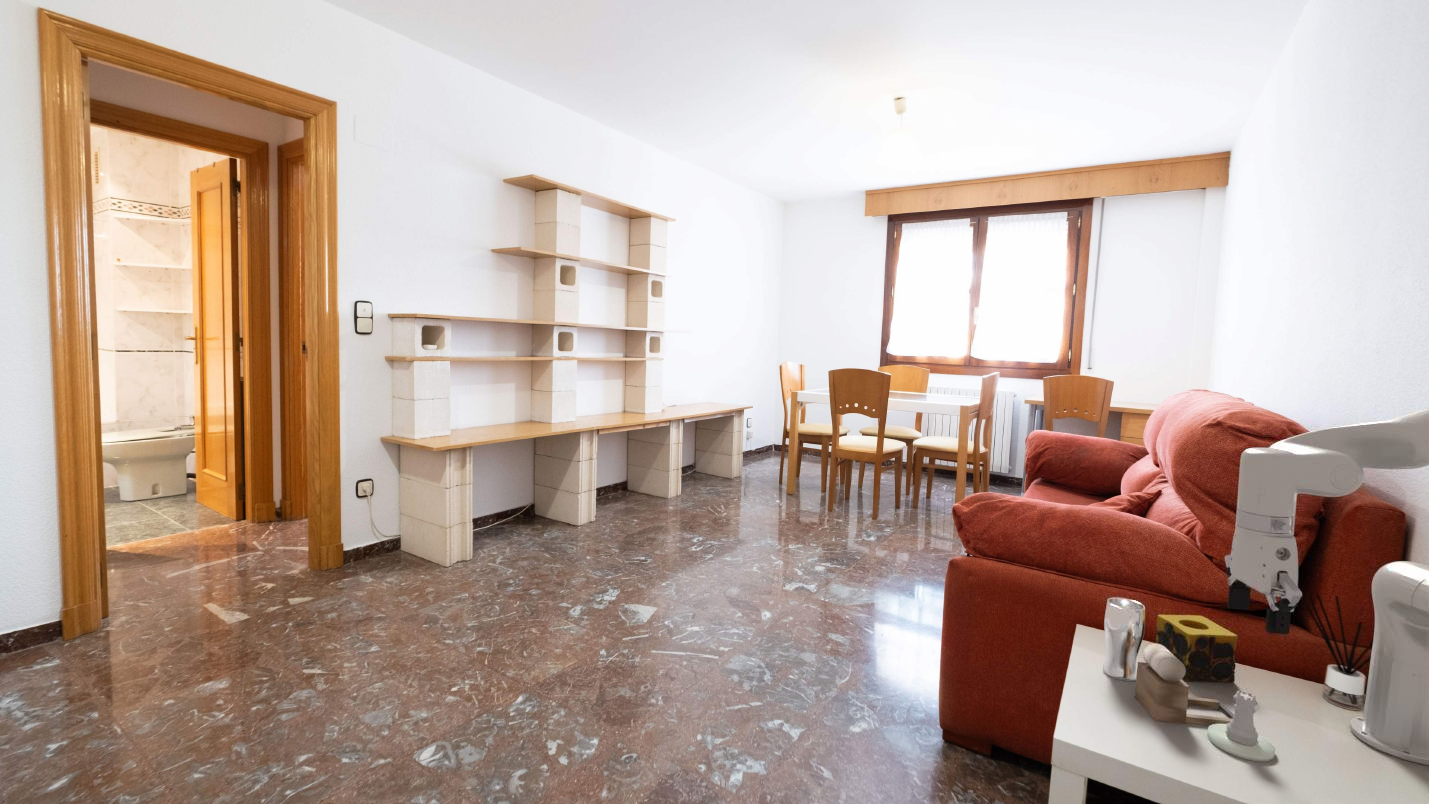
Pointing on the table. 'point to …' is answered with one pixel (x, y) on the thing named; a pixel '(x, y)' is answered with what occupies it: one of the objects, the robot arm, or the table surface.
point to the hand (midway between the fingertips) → (1256, 620)
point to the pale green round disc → (1254, 753)
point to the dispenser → (1170, 690)
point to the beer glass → (1123, 637)
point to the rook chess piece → (1243, 720)
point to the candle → (1199, 646)
